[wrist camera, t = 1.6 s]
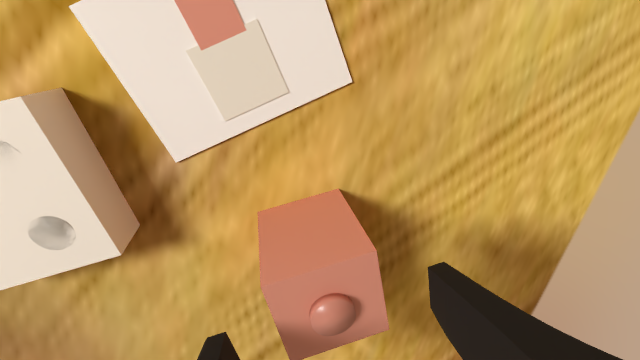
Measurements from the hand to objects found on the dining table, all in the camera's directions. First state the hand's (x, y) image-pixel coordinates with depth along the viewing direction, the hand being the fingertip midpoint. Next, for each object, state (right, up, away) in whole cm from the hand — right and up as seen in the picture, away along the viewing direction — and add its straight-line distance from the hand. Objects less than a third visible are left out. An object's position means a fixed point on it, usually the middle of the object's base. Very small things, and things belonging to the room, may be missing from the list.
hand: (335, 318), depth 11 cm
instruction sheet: (-4, +10, +1) cm, 10 cm away
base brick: (-12, +5, +2) cm, 13 cm away
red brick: (-1, +2, +5) cm, 5 cm away
